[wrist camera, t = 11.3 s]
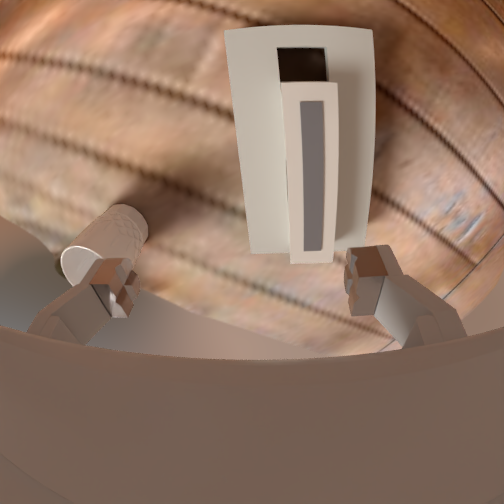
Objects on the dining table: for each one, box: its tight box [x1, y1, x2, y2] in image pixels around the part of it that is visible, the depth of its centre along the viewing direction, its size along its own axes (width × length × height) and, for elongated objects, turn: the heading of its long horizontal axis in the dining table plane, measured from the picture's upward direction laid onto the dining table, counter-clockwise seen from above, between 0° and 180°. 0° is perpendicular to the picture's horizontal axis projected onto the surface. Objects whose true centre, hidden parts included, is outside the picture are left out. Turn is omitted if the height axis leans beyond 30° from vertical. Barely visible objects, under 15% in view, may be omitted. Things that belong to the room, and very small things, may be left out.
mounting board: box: [224, 25, 376, 254], centre depth 24 cm, size 22×12×4 cm, turn 6°
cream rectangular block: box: [281, 81, 339, 264], centre depth 24 cm, size 16×4×6 cm, turn 6°
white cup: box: [61, 204, 148, 286], centre depth 30 cm, size 8×8×10 cm
